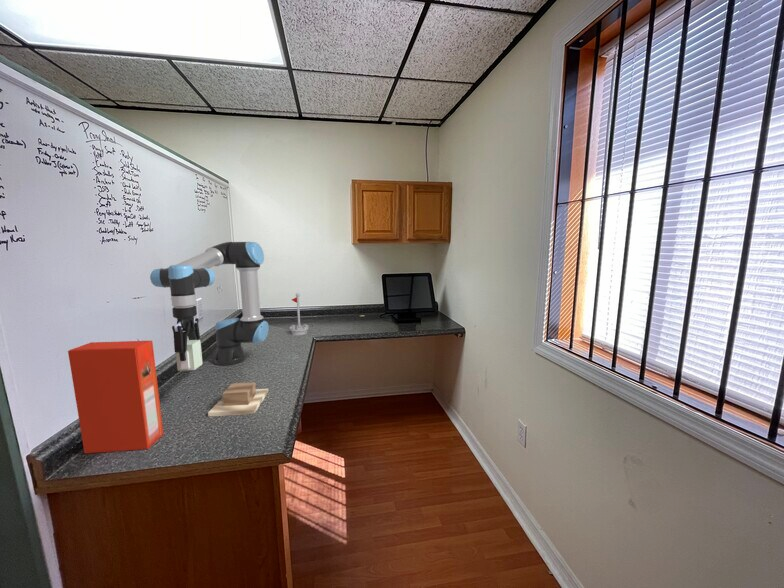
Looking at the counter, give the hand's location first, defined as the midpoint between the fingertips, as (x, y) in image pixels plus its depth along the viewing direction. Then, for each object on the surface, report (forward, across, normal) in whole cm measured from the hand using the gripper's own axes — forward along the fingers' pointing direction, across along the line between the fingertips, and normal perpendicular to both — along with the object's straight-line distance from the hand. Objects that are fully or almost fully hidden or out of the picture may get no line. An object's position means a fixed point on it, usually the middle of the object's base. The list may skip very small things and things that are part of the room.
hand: (190, 364), depth 117 cm
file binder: (+16, +24, -8) cm, 30 cm away
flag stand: (+17, -105, +21) cm, 108 cm away
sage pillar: (+1, 0, 0) cm, 1 cm away
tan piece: (+16, +1, +18) cm, 24 cm away
